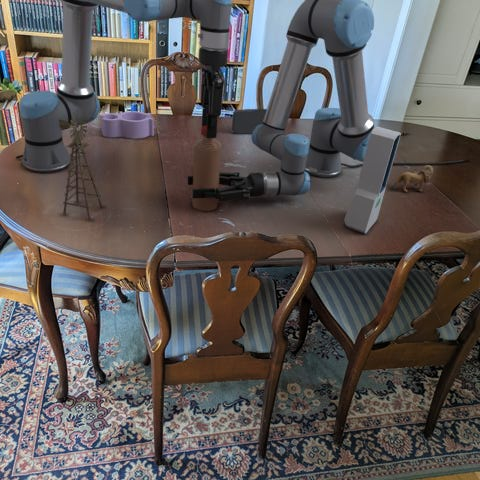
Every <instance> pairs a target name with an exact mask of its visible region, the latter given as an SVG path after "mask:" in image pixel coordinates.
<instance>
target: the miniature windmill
mask: <svg viewBox="0 0 480 480" xmlns="http://www.w3.org/2000/svg"><path fill="white" fill-rule="evenodd" d="M82 111H83V110H82ZM74 114H75V111H74ZM84 114H85V112H84ZM84 114H83V116H84ZM81 115H82V112H81ZM83 116H82V119H83ZM72 118H73V120H74V121H75V123H76V124H75V123H74V122H73V121H72V120H70V122H71V123H72V125H71V124H70V123H69V122H66V121H63V120H60V119H59V124H60V128H68V129H70V130H69V134H70V138H71V143H69V144H68V145H65V147H66V148H71V153H69V155H70V159H71V160H70V165H69V166H68V169H67V173H68V174H67V178H66V180H67V181H66V186H65V188H66V189H65V193H64V196H65V197H64V201H63V202H62V205H63V211H62V215H64V216H65V215H66V214H67V206H68V205H69V206H73V207H79V208H86V214H87V219H88V220H91V219H92V218H91V213H90V208H91V207H92V206H93V205H94V204H95V203H96V202H97V201H98V203H99V207H100V208H103V206H104V205H103V203H102V200H101V194H99V191H98V187H97V184H96V183H95V182H96V180H95V179H94V176H93V173H92V171H91V170H92V169H91V166H90V164H89V161H88V158H87V156H86V155H87V153H86V152H85V150H84V149H85V148H87V147H88V146H89V145H90V143H88V142H83V141H84V138H86V133H87V132H88V130H86V129H87V128H88V125H86V124H85V123H87V121H85V122H83V121H84V120H85V118H86V116H85V118H84V119H83V121H82V119H81V117H80V109H79V118H80V120H81V121H82V122H83V123H82V122H81V121H80V122H78V121H77V118H78V111H77V118H76V114H75V119H76V120H75V119H74V117H73V115H72ZM76 121H77V122H76ZM78 123H81V124H80V125H79V124H78ZM87 124H88V123H87ZM74 154H75V155H74ZM82 158H83V159H84V162H85V164H82ZM74 161H75V165H73V162H74ZM83 168H86V169H83ZM73 169H75V170H73ZM87 171H88V174H89V177H90V178H87V177H84V174H85V173H86V172H87ZM79 174H80V176H81V177H80V176H79ZM74 176H75V178H74V179H73V180H72V181H71V179H72V177H74ZM79 180H81V184H82V187H79ZM85 181H89V182H90V183H89V184H88V185H87V186H86V182H85ZM73 183H75V184H74V185H72V184H73ZM91 186H93V189H94V192H95V193H88V192H87V190H88V188H90V187H91ZM74 189H75V192H73V194H71V195H70V196H69V193H70V192H71V191H72V190H74ZM79 190H83V191H79ZM79 194H83V195H84V202H85V205H81V204H77V203H79V202H80V200H79V199H80V198H79ZM74 196H75V202H76V203H71V202H68V201H69V200H71V199H72V197H74ZM88 196H92V197H96V198H95V199H94V200H93V201H92V202H91V203H90V204H89V201H88Z"/></svg>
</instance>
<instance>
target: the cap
mask: <svg viewBox="0 0 480 480" xmlns="http://www.w3.org/2000/svg"><path fill="white" fill-rule="evenodd" d="M206 133H207V125H205V126H202V125H201V129H200V135H201V136H202V137H203V136H206ZM216 136H218V133H217V134H216Z"/></svg>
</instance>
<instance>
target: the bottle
mask: <svg viewBox="0 0 480 480" xmlns="http://www.w3.org/2000/svg"><path fill="white" fill-rule="evenodd" d="M222 150H223V145H222V143H221V142H220V141H219V140H218V139H217V138H206V136H203V135H202V136H201V137H200V138H199V139H197V140H196V141H195V142H194V145H193V170H192V171H193V172H192V176H193V185H192V192H191V193H192V194H191V207H193V208H194V209H196V210H198V211H203V212H209V211H214V210H215V209H217V208H218V205H219V204H218V203H219V201H218V199H216V198H215V197H214V198H193V197H192V196H193V189H209V188H214V189H215V190H216V188H218V189H220V184H219V179H220V172H221V166H222V165H221V164H222Z"/></svg>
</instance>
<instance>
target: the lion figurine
mask: <svg viewBox="0 0 480 480" xmlns="http://www.w3.org/2000/svg"><path fill="white" fill-rule="evenodd" d="M421 168H422V169H420V170H419V172H415V173H413V172H409V171H404V172H402V173H401V174H400V175H399V177H398V178H397V180H396V181H395V182H394V185H393V188H392V190H396V189H397V188H398V184H400V183H403V184H402V189H403V192H405V193H408V189H406V187H407V186H408V185H409V184H410V183H411V184H413V188H414V189H418V192H421V193H422V192H423V190H422V188H423V187H424V184H425V183H427V182H429V181H430V179H431V177H432V175H433V173H434V168H433V166H432V165H423V166H422V167H421ZM418 184H419V186H418Z"/></svg>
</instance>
